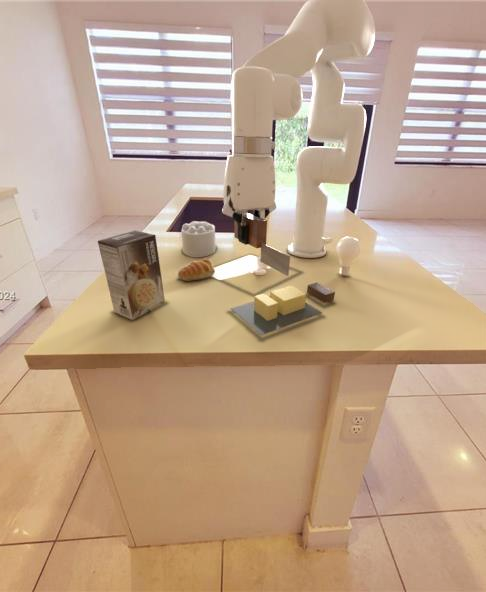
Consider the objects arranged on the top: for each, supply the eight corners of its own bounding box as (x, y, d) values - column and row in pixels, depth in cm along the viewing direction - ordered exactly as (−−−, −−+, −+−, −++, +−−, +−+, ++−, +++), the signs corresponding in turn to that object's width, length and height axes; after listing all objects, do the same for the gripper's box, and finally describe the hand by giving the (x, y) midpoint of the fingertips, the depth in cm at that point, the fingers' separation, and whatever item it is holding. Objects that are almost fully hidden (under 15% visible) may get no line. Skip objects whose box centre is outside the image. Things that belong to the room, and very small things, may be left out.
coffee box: (146, 295, 74) (136, 229, 67) (166, 303, 71) (157, 234, 64) (112, 312, 67) (96, 240, 60) (132, 321, 64) (118, 246, 57)
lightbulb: (359, 275, 88) (367, 237, 83) (348, 282, 84) (355, 242, 78) (339, 269, 92) (345, 232, 86) (327, 275, 87) (333, 236, 82)
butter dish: (287, 294, 76) (287, 291, 76) (322, 316, 68) (322, 312, 67) (230, 312, 68) (230, 308, 68) (261, 339, 60) (261, 335, 59)
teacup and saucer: (261, 280, 83) (262, 266, 81) (240, 271, 88) (240, 258, 86) (282, 271, 89) (283, 257, 87) (261, 263, 94) (261, 250, 92)
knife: (243, 248, 73) (243, 211, 69) (292, 274, 60) (296, 231, 56) (234, 250, 72) (234, 212, 68) (282, 277, 59) (286, 232, 55)
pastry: (186, 285, 80) (184, 272, 78) (174, 276, 84) (172, 263, 82) (217, 274, 85) (216, 261, 83) (204, 267, 89) (203, 254, 87)
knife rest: (315, 293, 77) (316, 282, 76) (333, 303, 73) (335, 291, 72) (306, 296, 76) (307, 285, 74) (324, 306, 71) (325, 294, 70)
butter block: (290, 298, 72) (291, 285, 71) (304, 308, 69) (306, 293, 67) (269, 305, 69) (270, 291, 68) (283, 315, 66) (284, 300, 64)
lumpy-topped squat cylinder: (216, 244, 109) (215, 219, 105) (213, 257, 98) (212, 230, 93) (186, 243, 109) (184, 218, 105) (179, 257, 97) (177, 229, 93)
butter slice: (263, 307, 69) (264, 293, 67) (277, 317, 65) (278, 302, 63) (253, 310, 67) (254, 296, 66) (267, 321, 64) (268, 306, 62)
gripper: (273, 147, 66) (269, 232, 75) (204, 146, 58) (208, 242, 66) (296, 149, 61) (289, 241, 69) (223, 148, 53) (225, 252, 61)
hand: (249, 241), depth 68 cm, fingers closed on knife, 2 cm apart
